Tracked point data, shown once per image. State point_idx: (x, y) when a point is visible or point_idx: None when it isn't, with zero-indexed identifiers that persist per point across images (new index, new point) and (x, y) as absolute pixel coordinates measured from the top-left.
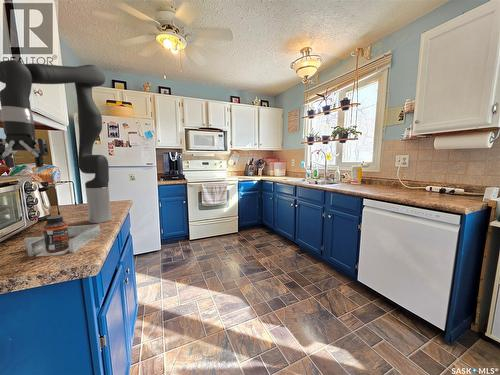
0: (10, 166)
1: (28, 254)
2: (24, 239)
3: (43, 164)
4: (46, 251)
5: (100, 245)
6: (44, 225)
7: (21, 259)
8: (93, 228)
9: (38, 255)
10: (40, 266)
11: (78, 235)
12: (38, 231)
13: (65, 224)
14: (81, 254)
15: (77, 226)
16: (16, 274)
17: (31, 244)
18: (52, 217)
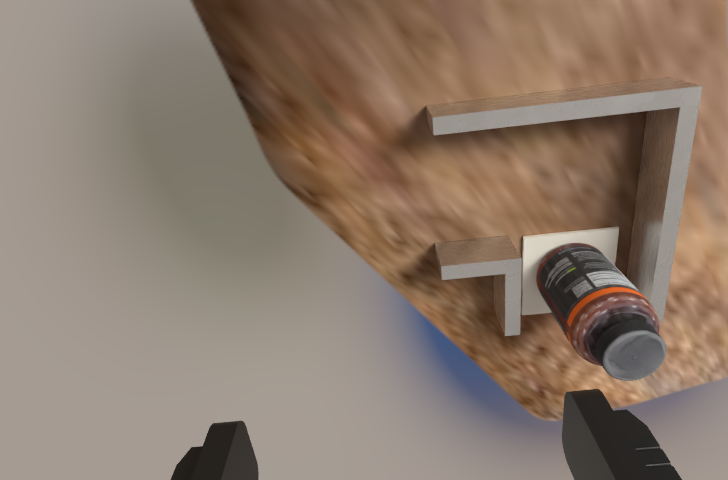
0: (250, 473)
1: (495, 311)
2: (444, 279)
3: (644, 427)
4: (536, 285)
5: (717, 240)
6: (585, 357)
7: (488, 327)
8: (689, 158)
9: (531, 314)
10: (585, 374)
11: (658, 263)
12: None
13: (658, 328)
14: (673, 312)
15: (583, 112)
16: (551, 406)
17: (519, 333)
18: (631, 366)
